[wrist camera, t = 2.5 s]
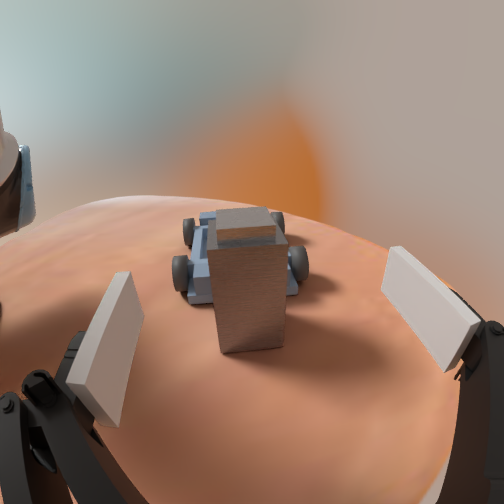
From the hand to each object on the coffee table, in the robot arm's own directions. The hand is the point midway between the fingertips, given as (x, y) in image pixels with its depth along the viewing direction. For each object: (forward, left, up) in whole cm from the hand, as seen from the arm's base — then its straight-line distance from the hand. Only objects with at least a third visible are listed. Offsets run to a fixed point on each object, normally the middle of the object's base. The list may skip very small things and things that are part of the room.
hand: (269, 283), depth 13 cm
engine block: (0, +10, -13) cm, 16 cm away
